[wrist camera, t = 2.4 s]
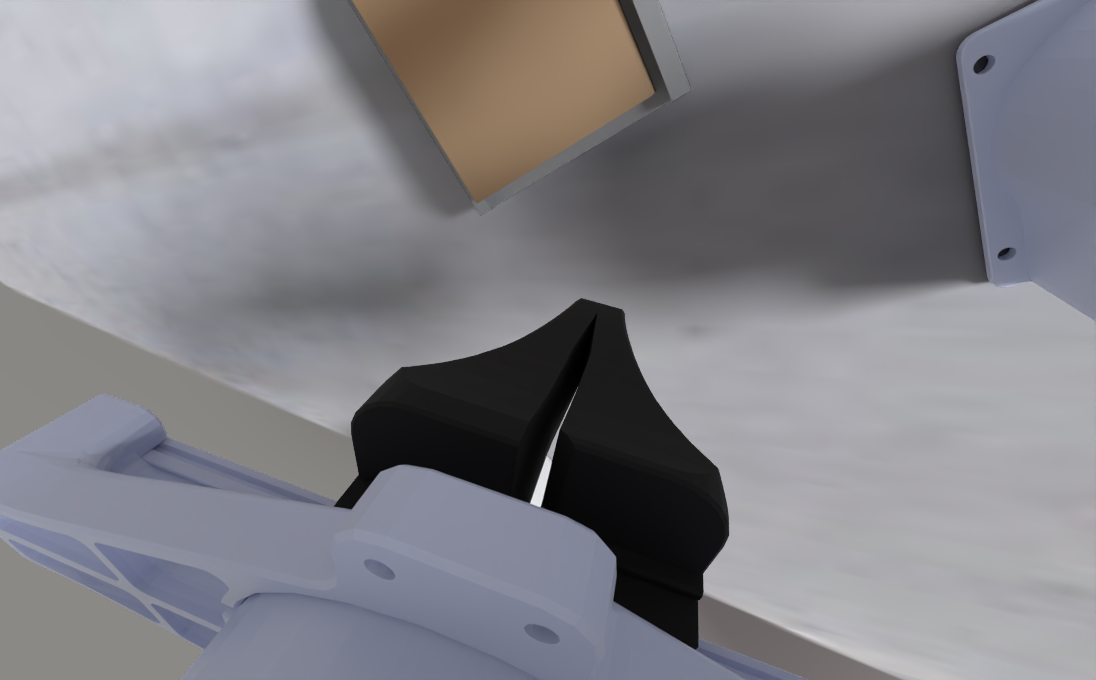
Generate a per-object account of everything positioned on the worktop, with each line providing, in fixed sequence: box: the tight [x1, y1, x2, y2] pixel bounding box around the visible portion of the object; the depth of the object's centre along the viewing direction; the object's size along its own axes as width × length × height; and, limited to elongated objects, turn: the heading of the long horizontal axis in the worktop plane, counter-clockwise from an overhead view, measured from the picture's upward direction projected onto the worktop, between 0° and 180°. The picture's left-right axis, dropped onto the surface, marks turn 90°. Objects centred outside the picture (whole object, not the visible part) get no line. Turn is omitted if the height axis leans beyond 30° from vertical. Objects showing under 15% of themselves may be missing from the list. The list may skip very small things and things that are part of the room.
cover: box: [352, 0, 656, 203], centre depth 13 cm, size 9×7×2 cm
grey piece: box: [348, 0, 690, 216], centre depth 15 cm, size 10×9×4 cm
